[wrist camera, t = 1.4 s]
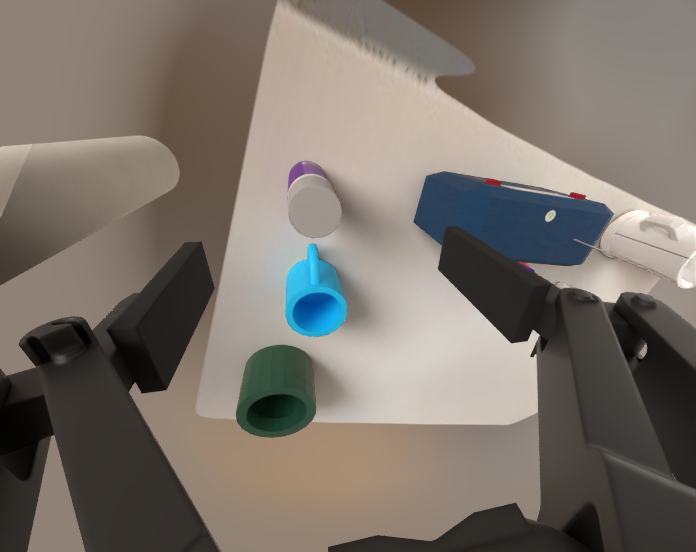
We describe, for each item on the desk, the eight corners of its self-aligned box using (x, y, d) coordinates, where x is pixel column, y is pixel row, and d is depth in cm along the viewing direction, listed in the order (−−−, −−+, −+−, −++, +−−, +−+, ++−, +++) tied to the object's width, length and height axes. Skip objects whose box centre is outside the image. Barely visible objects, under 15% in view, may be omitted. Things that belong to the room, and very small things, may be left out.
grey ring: (548, 286, 53) (566, 297, 49) (556, 277, 52) (575, 288, 48) (559, 291, 54) (577, 303, 51) (567, 283, 53) (586, 294, 50)
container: (280, 174, 35) (274, 204, 22) (311, 152, 34) (323, 171, 21) (302, 205, 37) (308, 249, 24) (331, 185, 36) (353, 220, 23)
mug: (338, 301, 46) (346, 333, 39) (288, 305, 44) (288, 339, 37) (339, 233, 40) (349, 256, 33) (281, 235, 38) (279, 260, 31)
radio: (547, 184, 42) (725, 227, 25) (522, 237, 46) (659, 306, 29) (425, 163, 37) (540, 198, 20) (408, 225, 41) (492, 298, 24)
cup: (581, 251, 50) (657, 284, 40) (614, 201, 46) (708, 224, 36) (621, 258, 53) (702, 291, 42) (655, 212, 49) (753, 237, 38)
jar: (231, 378, 50) (220, 425, 42) (270, 334, 46) (266, 376, 39) (286, 399, 55) (286, 444, 47) (325, 361, 52) (331, 403, 44)
